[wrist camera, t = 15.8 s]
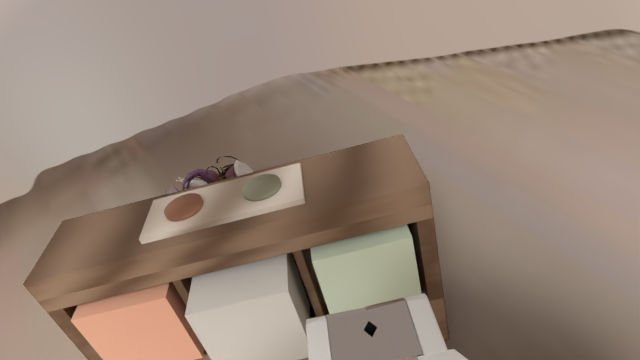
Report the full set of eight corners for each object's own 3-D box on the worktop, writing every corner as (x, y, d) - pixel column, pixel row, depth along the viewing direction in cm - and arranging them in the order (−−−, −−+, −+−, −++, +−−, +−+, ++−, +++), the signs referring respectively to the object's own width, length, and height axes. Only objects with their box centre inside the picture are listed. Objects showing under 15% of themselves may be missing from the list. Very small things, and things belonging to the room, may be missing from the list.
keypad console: (133, 412, 34) (15, 275, 26) (150, 344, 39) (57, 213, 31) (448, 339, 33) (427, 172, 25) (425, 279, 38) (401, 124, 30)
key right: (334, 326, 30) (311, 261, 27) (326, 277, 34) (306, 215, 30) (423, 305, 30) (412, 237, 26) (406, 258, 33) (394, 193, 30)
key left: (118, 377, 31) (70, 320, 27) (134, 323, 34) (94, 268, 31) (203, 357, 30) (165, 297, 27) (210, 305, 34) (178, 247, 31)
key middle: (222, 377, 29) (184, 316, 25) (227, 320, 32) (195, 260, 29) (314, 356, 28) (288, 291, 25) (308, 301, 32) (285, 238, 29)
